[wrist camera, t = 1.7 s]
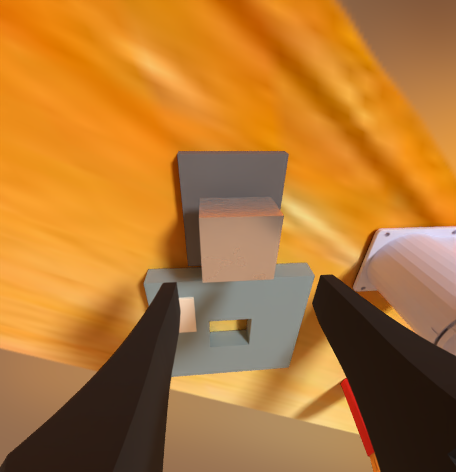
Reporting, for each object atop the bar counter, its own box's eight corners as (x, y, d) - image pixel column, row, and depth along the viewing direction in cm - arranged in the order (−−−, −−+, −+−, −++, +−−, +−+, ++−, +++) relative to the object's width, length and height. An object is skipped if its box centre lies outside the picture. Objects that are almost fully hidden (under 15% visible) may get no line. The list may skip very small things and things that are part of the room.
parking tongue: (284, 151, 17) (288, 153, 16) (269, 256, 22) (272, 262, 22) (178, 151, 17) (177, 154, 16) (189, 259, 22) (188, 266, 21)
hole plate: (306, 262, 23) (315, 277, 21) (284, 353, 32) (289, 368, 30) (148, 269, 22) (143, 285, 20) (168, 361, 30) (165, 378, 28)
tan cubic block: (264, 187, 18) (283, 215, 13) (259, 241, 20) (273, 279, 16) (200, 188, 17) (198, 217, 13) (203, 243, 20) (202, 282, 16)
